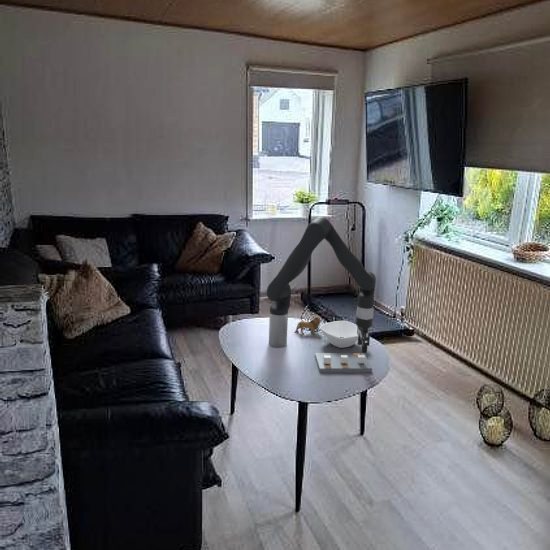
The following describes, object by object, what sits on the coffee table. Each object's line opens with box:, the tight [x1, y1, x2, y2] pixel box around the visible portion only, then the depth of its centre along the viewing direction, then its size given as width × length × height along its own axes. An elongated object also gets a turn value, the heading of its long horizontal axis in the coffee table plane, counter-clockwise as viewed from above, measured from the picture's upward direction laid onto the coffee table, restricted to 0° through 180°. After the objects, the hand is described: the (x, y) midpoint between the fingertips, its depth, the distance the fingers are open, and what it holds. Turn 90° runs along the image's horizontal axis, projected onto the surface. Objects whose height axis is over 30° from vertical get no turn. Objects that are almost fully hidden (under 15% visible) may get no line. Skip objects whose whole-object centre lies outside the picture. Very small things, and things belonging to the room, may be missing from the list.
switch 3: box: [357, 355, 366, 363], centre depth 230 cm, size 2×3×3 cm
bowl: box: [318, 320, 358, 349], centre depth 254 cm, size 21×21×9 cm
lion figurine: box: [294, 315, 322, 335], centre depth 267 cm, size 15×5×9 cm, turn 106°
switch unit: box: [314, 352, 373, 373], centre depth 233 cm, size 16×24×2 cm, turn 94°
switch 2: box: [340, 355, 348, 363], centre depth 230 cm, size 2×3×3 cm
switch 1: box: [323, 355, 331, 364], centre depth 229 cm, size 2×3×3 cm
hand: (362, 348), depth 228 cm, fingers open, 8 cm apart
